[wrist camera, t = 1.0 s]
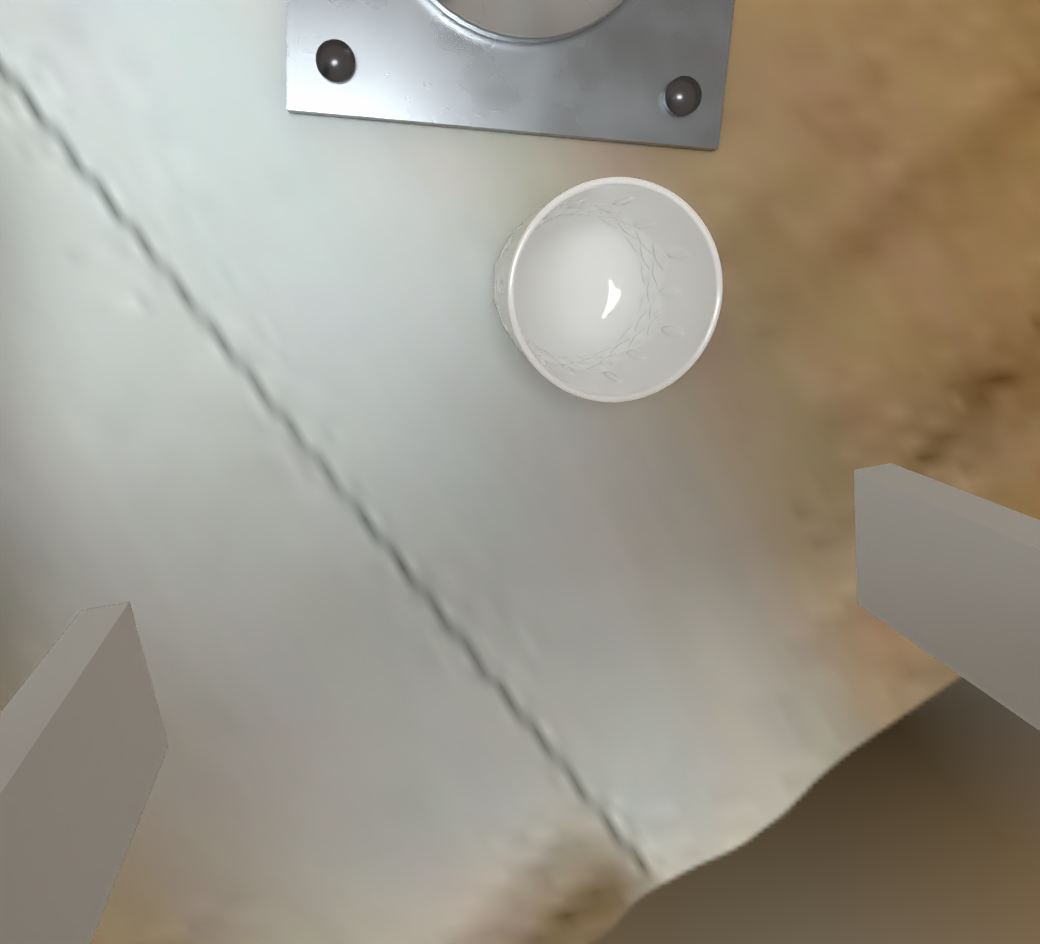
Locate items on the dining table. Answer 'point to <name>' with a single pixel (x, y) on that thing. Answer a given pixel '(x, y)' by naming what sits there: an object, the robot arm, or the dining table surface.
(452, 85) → the panel
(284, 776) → the dining table surface
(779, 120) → the dining table surface
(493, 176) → the dining table surface
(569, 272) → the white cup
